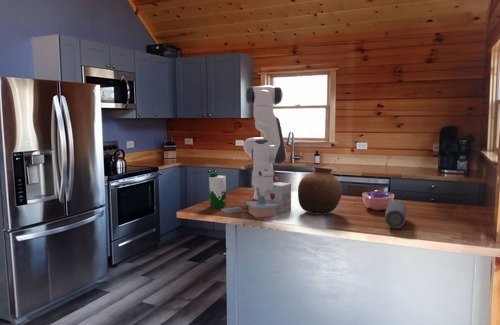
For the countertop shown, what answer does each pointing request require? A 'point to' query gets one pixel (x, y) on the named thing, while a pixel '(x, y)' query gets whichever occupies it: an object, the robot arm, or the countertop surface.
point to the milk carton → (217, 191)
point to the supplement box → (281, 196)
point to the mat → (233, 210)
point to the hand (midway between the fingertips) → (261, 197)
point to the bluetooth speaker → (395, 214)
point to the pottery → (319, 191)
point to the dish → (262, 212)
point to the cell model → (377, 199)
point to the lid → (262, 203)
